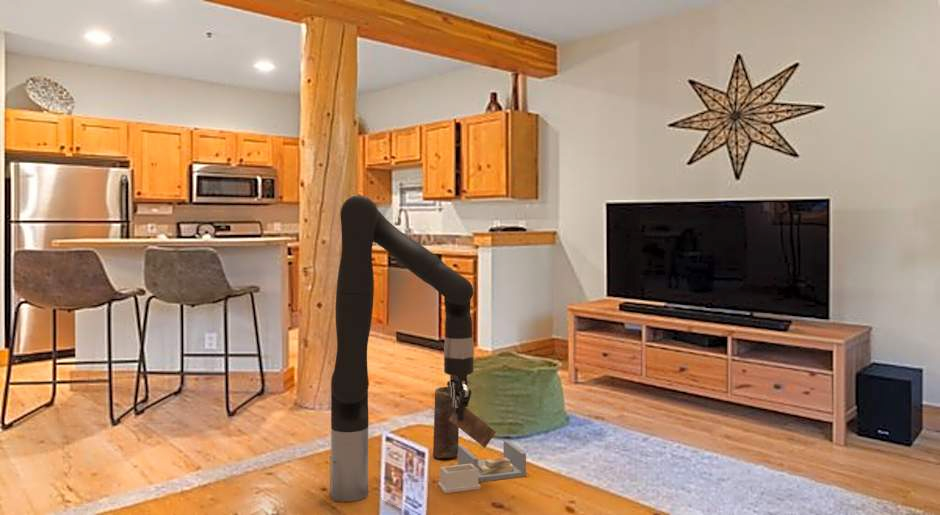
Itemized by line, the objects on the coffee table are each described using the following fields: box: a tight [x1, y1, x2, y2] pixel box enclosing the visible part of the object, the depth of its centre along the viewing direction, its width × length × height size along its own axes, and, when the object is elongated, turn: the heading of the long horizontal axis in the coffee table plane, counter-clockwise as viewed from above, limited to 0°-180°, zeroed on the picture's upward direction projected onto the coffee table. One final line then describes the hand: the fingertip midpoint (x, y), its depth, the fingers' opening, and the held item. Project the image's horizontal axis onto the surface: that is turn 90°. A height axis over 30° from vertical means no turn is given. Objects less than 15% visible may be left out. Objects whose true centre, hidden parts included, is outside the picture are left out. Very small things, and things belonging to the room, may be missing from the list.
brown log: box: [432, 386, 460, 460], centre depth 190 cm, size 8×7×20 cm
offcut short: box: [485, 457, 510, 469], centre depth 175 cm, size 6×3×2 cm, turn 113°
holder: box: [437, 463, 482, 494], centre depth 167 cm, size 10×6×5 cm, turn 109°
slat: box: [449, 407, 497, 449], centre depth 168 cm, size 5×2×12 cm
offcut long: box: [478, 463, 514, 475], centre depth 175 cm, size 9×3×2 cm, turn 109°
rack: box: [457, 439, 527, 483], centre depth 178 cm, size 15×13×6 cm
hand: (459, 421), depth 166 cm, fingers closed, pressing on slat
